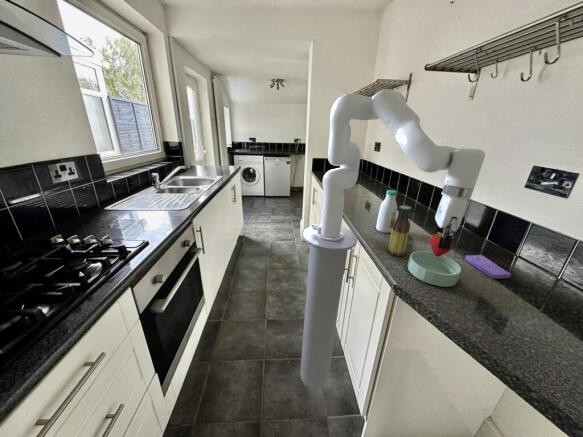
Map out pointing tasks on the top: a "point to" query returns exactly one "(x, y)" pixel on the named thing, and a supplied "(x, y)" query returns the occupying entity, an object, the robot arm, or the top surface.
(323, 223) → the robot arm
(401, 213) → the sauce bottle
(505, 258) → the top surface
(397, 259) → the top surface
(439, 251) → the strawberry
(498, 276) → the sponge
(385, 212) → the milk bottle
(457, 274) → the bowl
